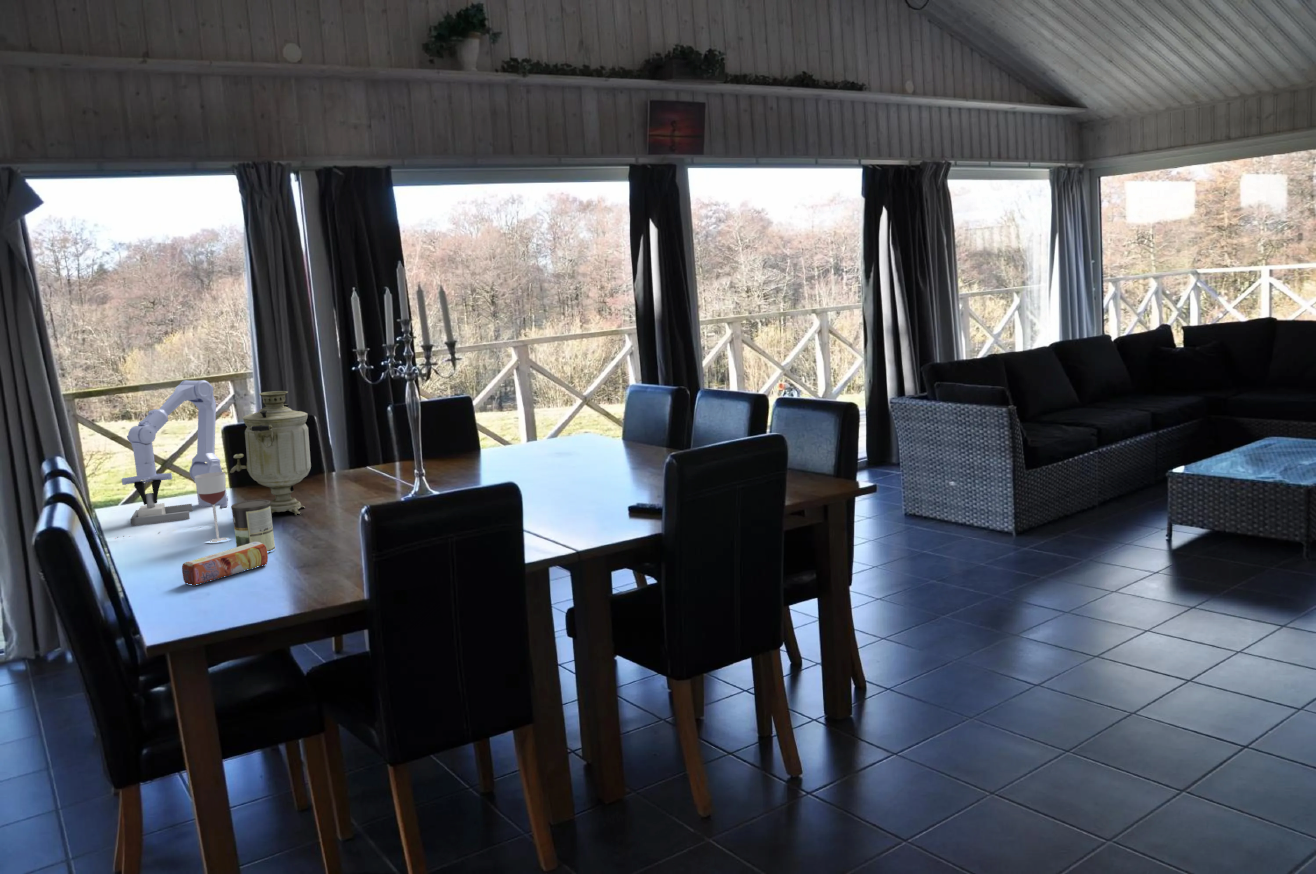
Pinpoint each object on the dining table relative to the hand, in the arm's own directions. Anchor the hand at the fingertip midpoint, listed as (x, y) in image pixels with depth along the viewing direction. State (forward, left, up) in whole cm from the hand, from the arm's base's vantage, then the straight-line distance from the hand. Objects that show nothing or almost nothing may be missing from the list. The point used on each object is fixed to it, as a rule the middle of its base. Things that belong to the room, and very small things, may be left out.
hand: (150, 503), depth 338 cm
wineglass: (-22, +40, -7) cm, 46 cm away
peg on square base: (0, 0, -5) cm, 5 cm away
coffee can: (-33, +61, -7) cm, 69 cm away
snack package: (-26, +82, -7) cm, 86 cm away
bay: (-3, 0, -6) cm, 7 cm away
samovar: (-39, +9, -7) cm, 40 cm away
